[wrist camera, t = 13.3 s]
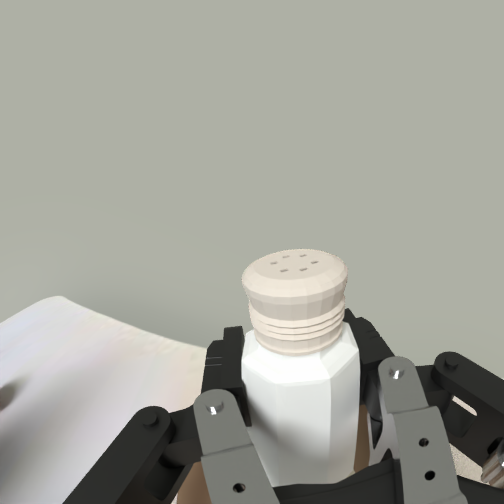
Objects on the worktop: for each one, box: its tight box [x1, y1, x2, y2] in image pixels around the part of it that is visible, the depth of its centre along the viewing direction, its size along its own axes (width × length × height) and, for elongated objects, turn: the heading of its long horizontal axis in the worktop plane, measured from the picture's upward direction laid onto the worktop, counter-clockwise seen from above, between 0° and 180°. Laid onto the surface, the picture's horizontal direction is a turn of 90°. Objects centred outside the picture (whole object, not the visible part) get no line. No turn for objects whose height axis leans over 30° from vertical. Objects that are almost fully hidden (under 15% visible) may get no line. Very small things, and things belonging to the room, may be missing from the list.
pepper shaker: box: [242, 249, 360, 487], centre depth 9 cm, size 5×5×11 cm
